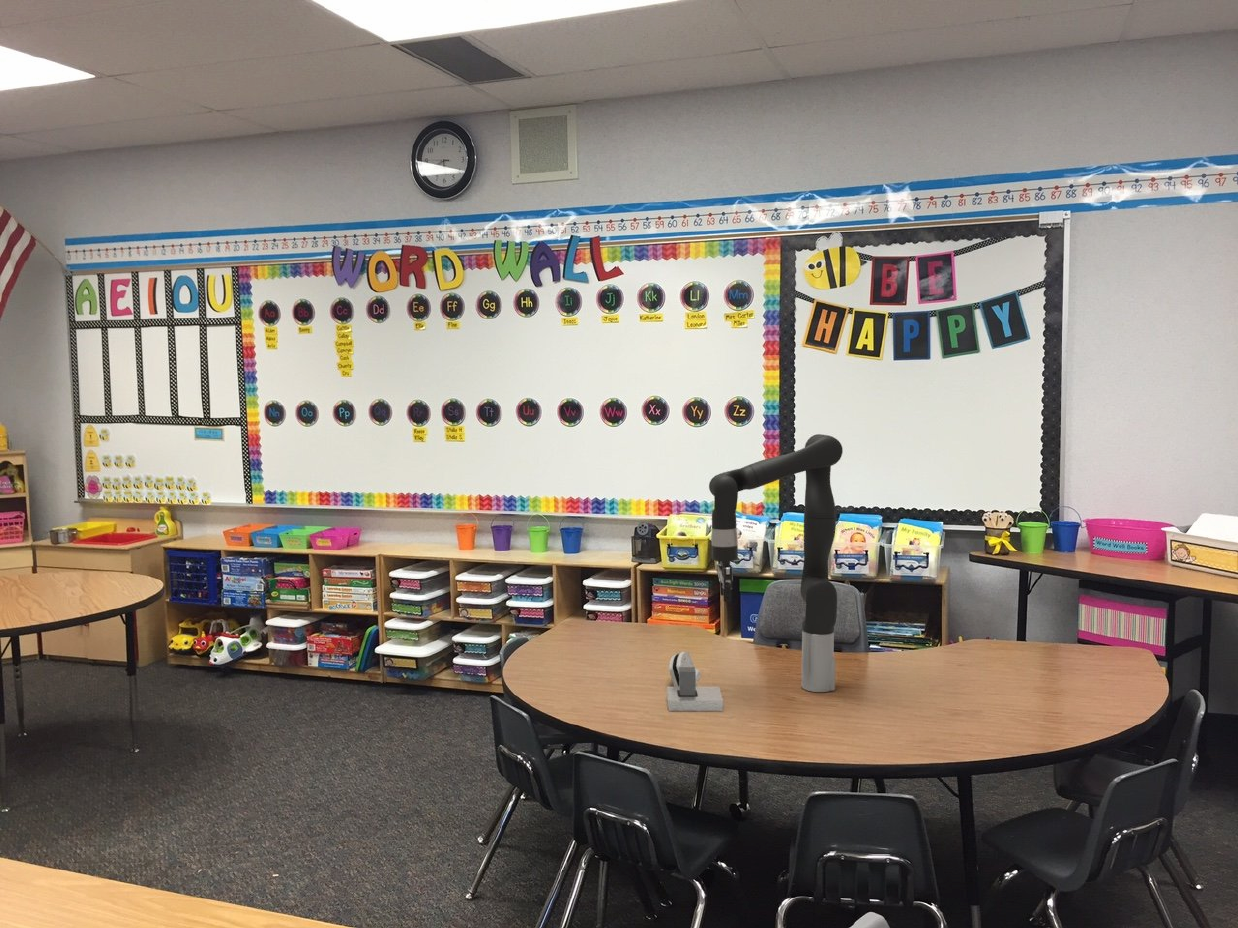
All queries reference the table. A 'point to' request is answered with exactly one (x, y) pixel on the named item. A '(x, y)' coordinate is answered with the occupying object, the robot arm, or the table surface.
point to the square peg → (687, 682)
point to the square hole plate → (695, 700)
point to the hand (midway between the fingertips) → (725, 598)
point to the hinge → (681, 661)
